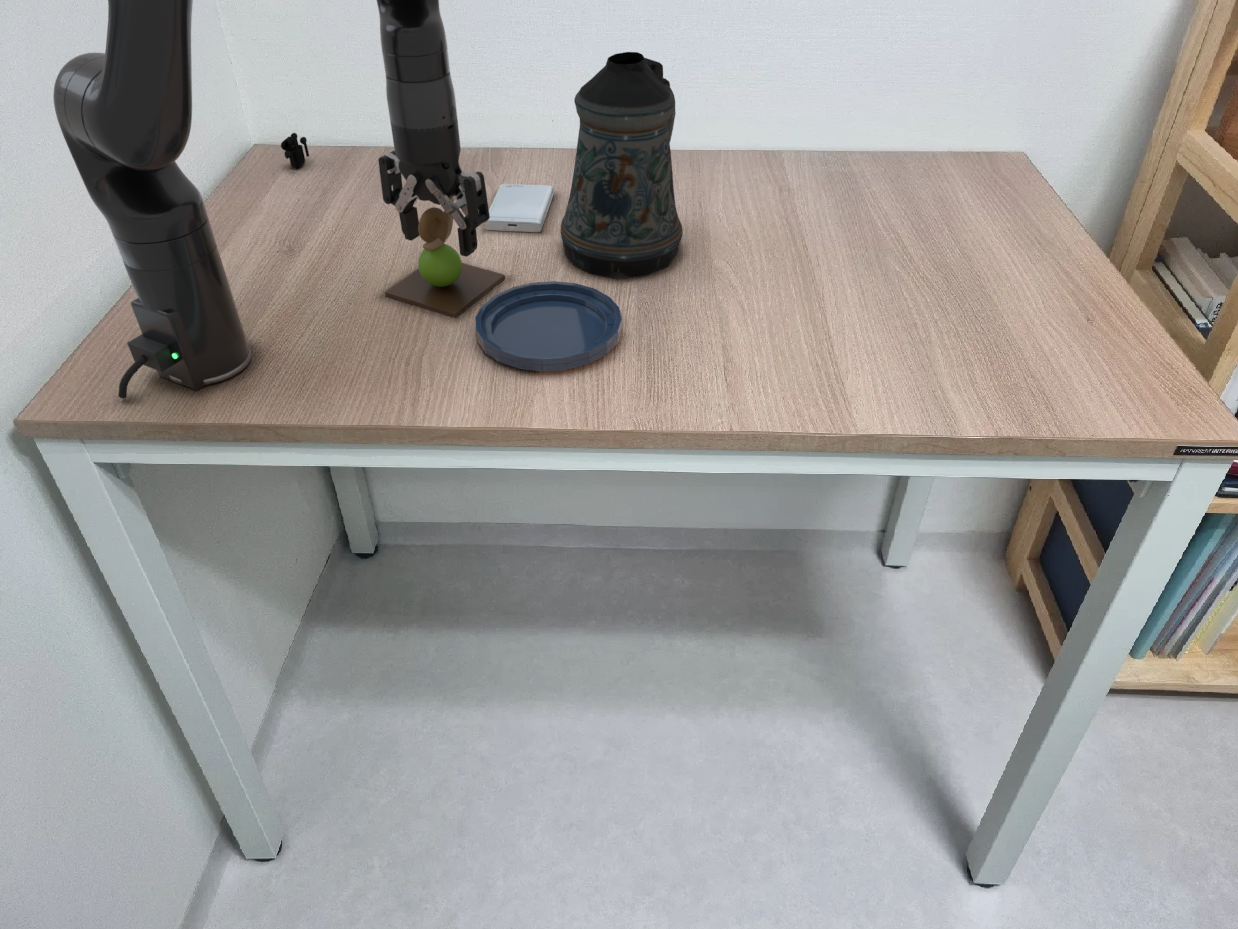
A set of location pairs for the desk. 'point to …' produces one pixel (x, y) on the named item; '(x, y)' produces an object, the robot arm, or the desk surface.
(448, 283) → the snail figurine
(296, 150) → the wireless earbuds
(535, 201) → the hard drive
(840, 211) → the desk surface
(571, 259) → the beer stein
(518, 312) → the plate
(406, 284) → the coaster
